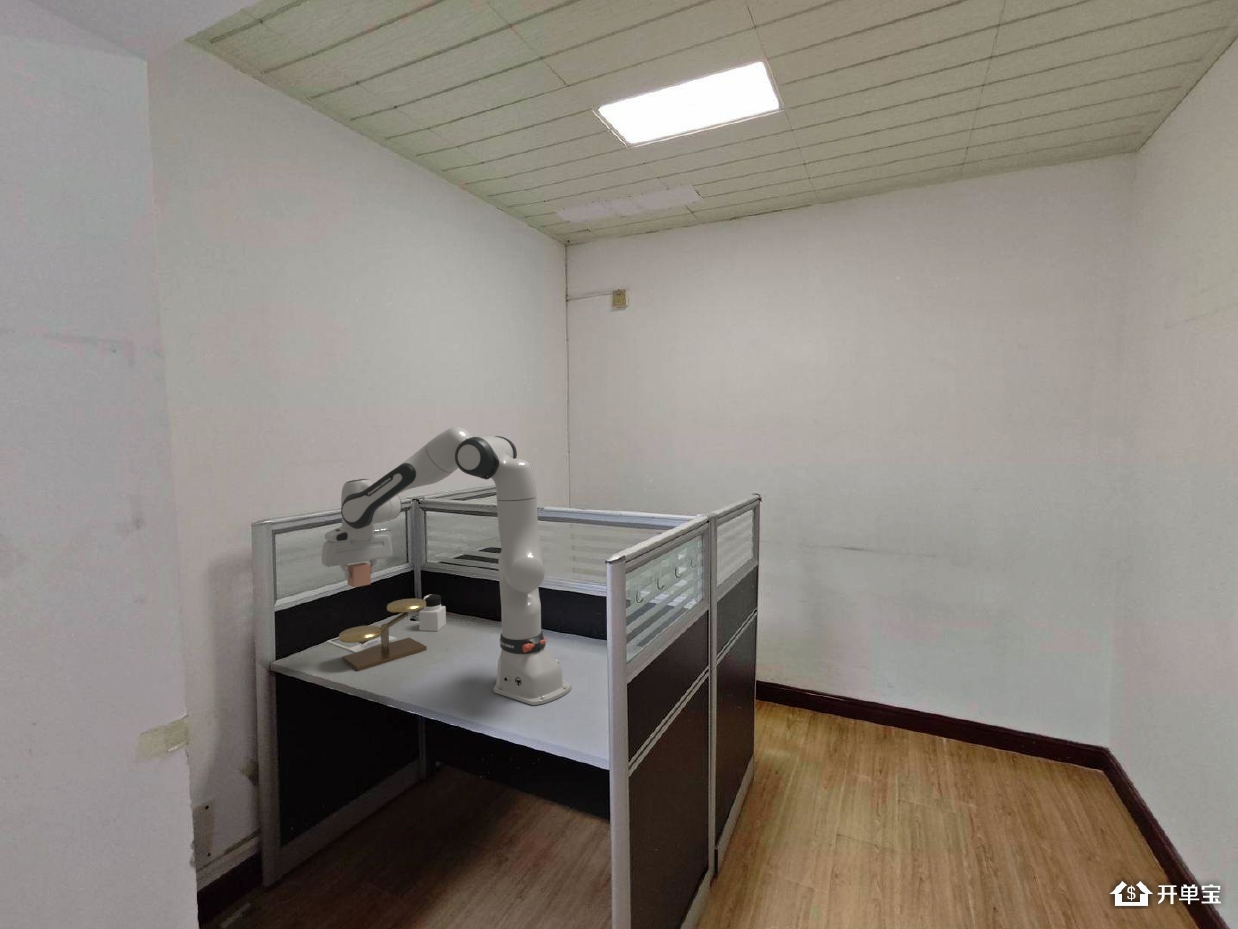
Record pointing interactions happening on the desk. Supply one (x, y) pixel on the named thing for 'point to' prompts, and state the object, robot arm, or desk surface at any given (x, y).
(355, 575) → the block
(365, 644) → the photo frame
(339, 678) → the desk surface
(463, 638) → the desk surface
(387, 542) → the robot arm
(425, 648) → the balance
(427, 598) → the medicine bottle
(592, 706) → the desk surface
